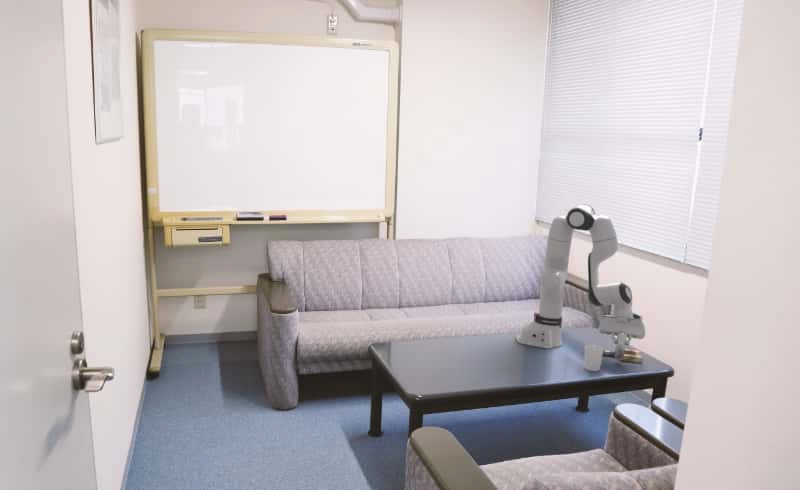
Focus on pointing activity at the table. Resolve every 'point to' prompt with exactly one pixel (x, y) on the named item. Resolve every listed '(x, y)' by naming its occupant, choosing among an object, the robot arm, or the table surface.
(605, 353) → the pin
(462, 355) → the table surface
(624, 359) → the socket block
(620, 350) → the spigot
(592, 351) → the white cup
